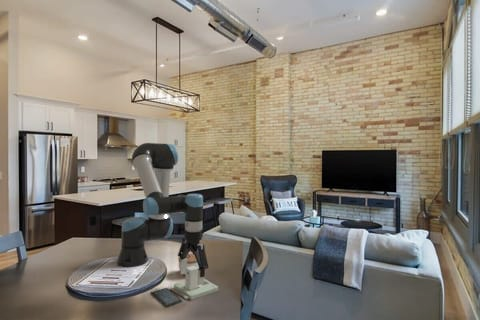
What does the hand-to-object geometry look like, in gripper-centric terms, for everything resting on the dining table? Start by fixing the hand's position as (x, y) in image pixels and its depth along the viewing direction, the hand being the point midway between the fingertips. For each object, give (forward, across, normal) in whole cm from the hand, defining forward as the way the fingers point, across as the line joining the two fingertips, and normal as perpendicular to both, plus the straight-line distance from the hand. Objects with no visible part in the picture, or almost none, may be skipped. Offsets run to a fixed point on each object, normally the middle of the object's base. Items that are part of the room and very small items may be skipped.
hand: (191, 278), depth 127 cm
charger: (+5, 0, 0) cm, 5 cm away
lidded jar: (+6, -17, +10) cm, 20 cm away
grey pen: (+5, -1, -6) cm, 8 cm away
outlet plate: (+5, 0, +2) cm, 6 cm away
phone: (+6, -1, -12) cm, 13 cm away
